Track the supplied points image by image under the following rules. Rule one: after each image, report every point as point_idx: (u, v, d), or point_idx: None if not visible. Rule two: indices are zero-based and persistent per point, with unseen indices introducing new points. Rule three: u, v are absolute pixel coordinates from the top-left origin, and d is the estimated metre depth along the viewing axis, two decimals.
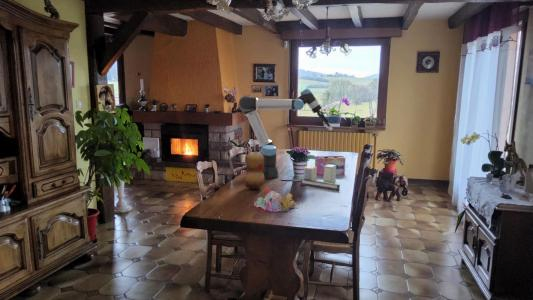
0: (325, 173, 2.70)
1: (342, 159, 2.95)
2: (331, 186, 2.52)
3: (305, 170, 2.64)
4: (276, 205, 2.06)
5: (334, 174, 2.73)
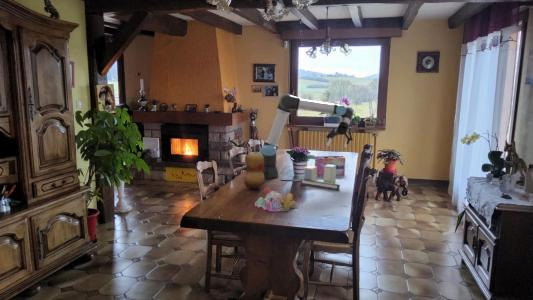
0: (325, 173, 2.70)
1: (342, 159, 2.95)
2: (331, 186, 2.52)
3: (305, 170, 2.64)
4: (277, 205, 2.06)
5: (334, 174, 2.73)
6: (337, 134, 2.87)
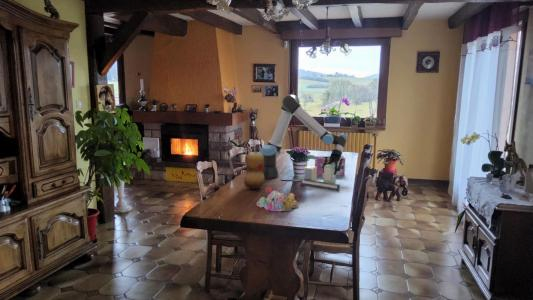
0: (325, 173, 2.70)
1: None
2: (331, 186, 2.52)
3: (305, 170, 2.64)
4: (279, 205, 2.06)
5: None
6: (331, 162, 2.78)
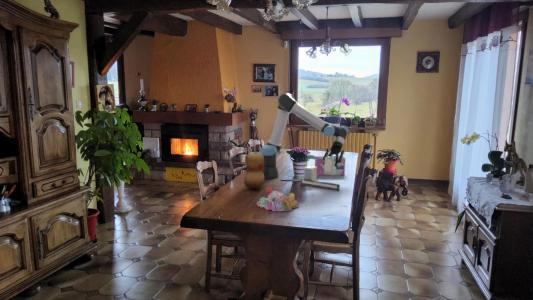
0: (326, 164, 2.69)
1: (342, 159, 2.94)
2: (331, 186, 2.52)
3: (305, 170, 2.64)
4: (279, 205, 2.06)
5: None
6: (332, 154, 2.77)
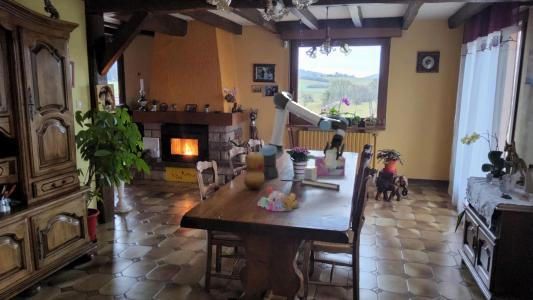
0: (327, 158, 2.61)
1: (341, 159, 2.93)
2: (331, 186, 2.52)
3: (305, 170, 2.64)
4: (280, 205, 2.06)
5: None
6: (332, 148, 2.69)
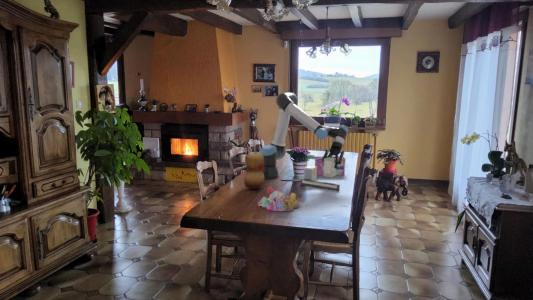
0: (325, 166, 2.55)
1: None
2: (331, 186, 2.52)
3: (305, 170, 2.64)
4: (280, 205, 2.07)
5: None
6: (331, 155, 2.63)
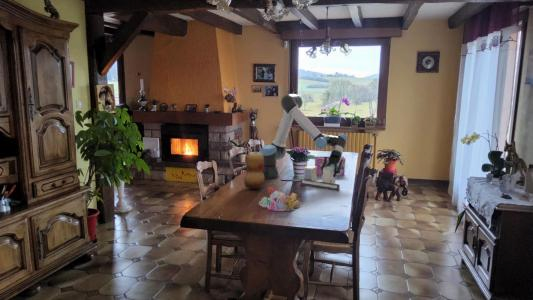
0: (324, 175, 2.57)
1: (341, 159, 2.93)
2: (331, 186, 2.52)
3: (305, 170, 2.64)
4: (281, 204, 2.07)
5: None
6: (330, 164, 2.65)
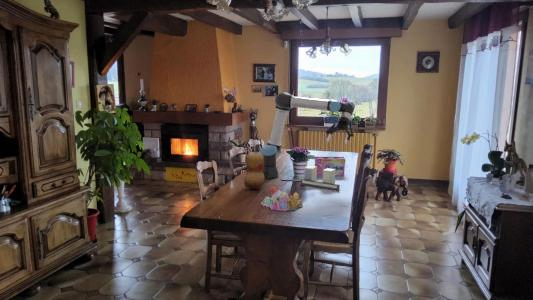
0: (324, 177, 2.57)
1: (341, 160, 2.91)
2: (331, 186, 2.52)
3: (305, 170, 2.64)
4: (284, 204, 2.07)
5: (333, 178, 2.59)
6: (337, 130, 2.73)
